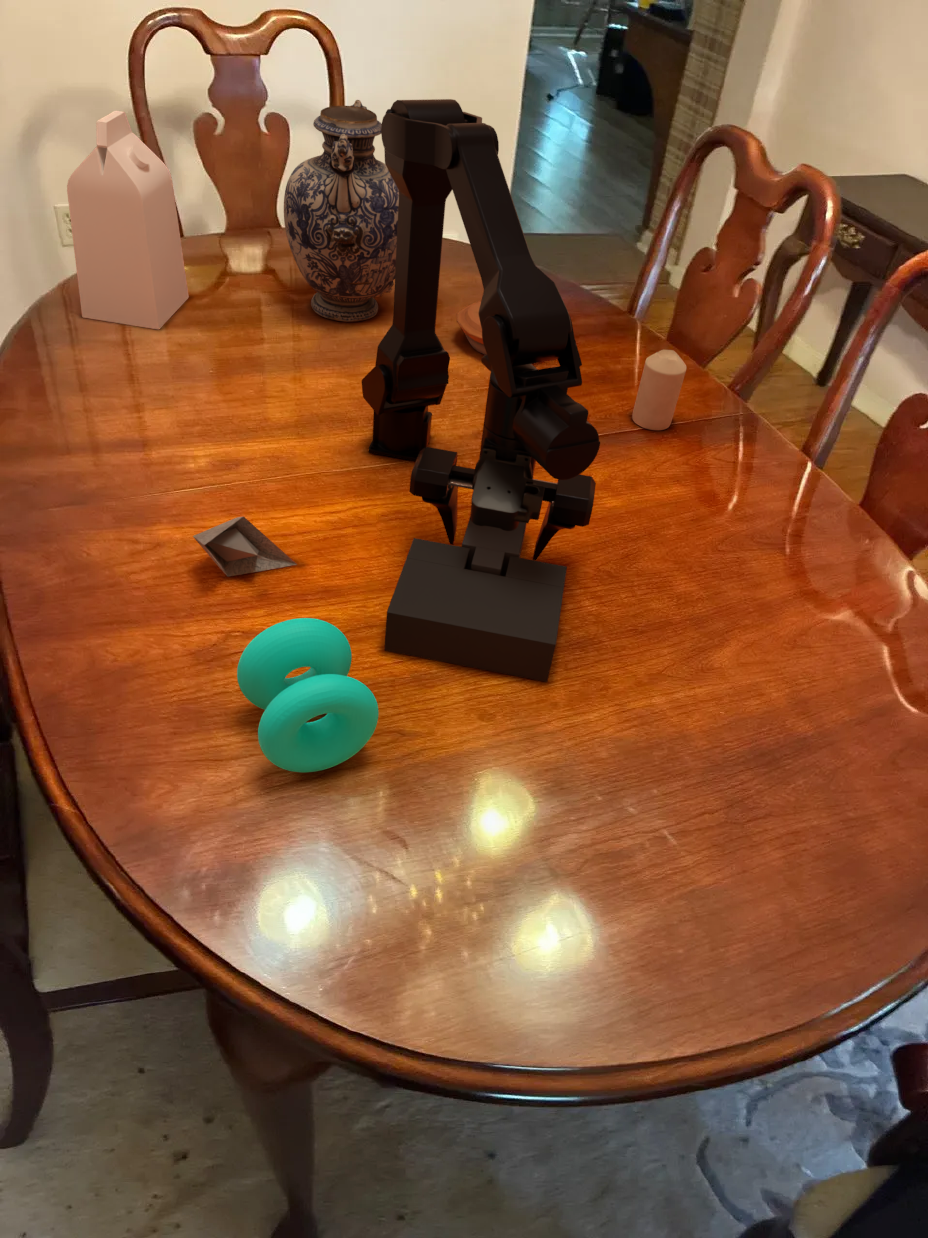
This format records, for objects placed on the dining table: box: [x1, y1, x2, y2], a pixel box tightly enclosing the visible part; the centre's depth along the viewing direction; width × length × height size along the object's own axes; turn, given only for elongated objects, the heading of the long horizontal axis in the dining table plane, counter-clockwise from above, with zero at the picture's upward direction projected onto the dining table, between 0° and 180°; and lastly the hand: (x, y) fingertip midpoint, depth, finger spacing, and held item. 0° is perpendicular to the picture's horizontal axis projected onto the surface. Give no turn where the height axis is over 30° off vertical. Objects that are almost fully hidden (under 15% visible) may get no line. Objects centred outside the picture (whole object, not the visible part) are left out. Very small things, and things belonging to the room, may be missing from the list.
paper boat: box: [192, 516, 298, 578], centre depth 94 cm, size 12×6×9 cm
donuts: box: [236, 617, 380, 773], centre depth 77 cm, size 10×10×10 cm
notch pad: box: [384, 537, 568, 683], centre depth 92 cm, size 16×12×5 cm
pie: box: [456, 300, 487, 356], centre depth 141 cm, size 15×16×5 cm
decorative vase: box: [283, 99, 399, 323], centre depth 137 cm, size 21×19×28 cm
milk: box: [66, 110, 190, 330], centre depth 130 cm, size 12×12×26 cm
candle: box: [631, 349, 687, 431], centre depth 126 cm, size 6×6×10 cm
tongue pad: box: [461, 518, 528, 577], centre depth 99 cm, size 6×13×5 cm, turn 170°
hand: (493, 550), depth 101 cm, fingers open, 9 cm apart
